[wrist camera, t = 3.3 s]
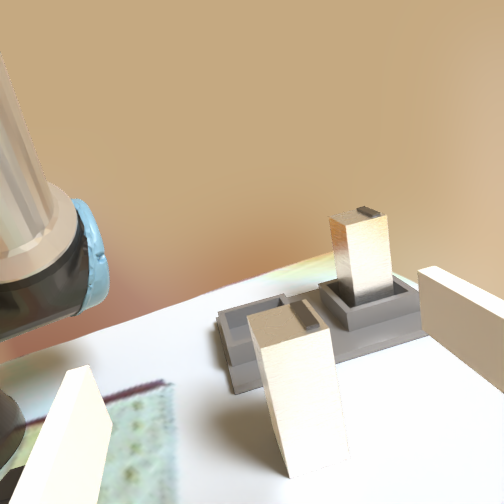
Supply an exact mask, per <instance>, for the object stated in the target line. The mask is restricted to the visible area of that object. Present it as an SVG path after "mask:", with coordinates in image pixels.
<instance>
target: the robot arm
mask: <svg viewBox="0 0 504 504" xmlns="http://www.w3.org/2000/svg"><path fill="white" fill-rule="evenodd" d="M417 272H418V285H419V297H420V310H421V323H422V330H423V331H424V332H426V333H427V334H428V335H430V336H431V337H432V338H433V339H435V340H436V341H437V342H439V343H440V344H441V345H442V346H444V347H445V348H446V349H447V350H449V351H450V352H451V353H453V354H454V355H455V356H456V357H458V358H459V359H460V360H462V361H463V362H464V363H465V364H467V365H468V366H469V367H470V368H472V369H473V370H474V371H476V372H477V373H478V374H479V375H481V376H482V377H483V378H485V379H486V380H487V381H488V382H490V383H491V384H492V385H493V386H495V387H496V388H497V389H499V390H500V391H501V392H502V393H504V300H502V299H500V298H498V297H496V296H494V295H492V294H490V293H488V292H486V291H484V290H482V289H480V288H478V287H476V286H474V285H472V284H470V283H468V282H466V281H464V280H462V279H460V278H458V277H456V276H454V275H452V274H450V273H448V272H446V271H444V270H442V269H440V268H438V267H436V266H432V267H428V268H425V269H421V270H418V271H417ZM109 285H110V277H109V268H108V263H107V259H106V257H105V255H104V246H103V241H102V238H101V235H100V232H99V230H98V226H97V223H96V221H95V219H94V216H93V215H92V212H91V210H90V209H89V207H88V206H87V204H86V203H85V202H84V201H82V200H80V199H70V198H69V197H68V195H67V194H66V193H65V192H64V191H62V190H61V189H60V188H59V187H57V186H55V185H54V184H52V183H50V182H47V181H46V178H45V175H44V172H43V170H42V167H41V164H40V161H39V159H38V156H37V153H36V150H35V148H34V145H33V142H32V139H31V136H30V133H29V131H28V128H27V125H26V122H25V119H24V117H23V114H22V111H21V108H20V106H19V103H18V100H17V97H16V94H15V91H14V89H13V86H12V83H11V80H10V78H9V75H8V72H7V69H6V66H5V63H4V61H3V58H2V55H1V52H0V342H3V341H5V340H8V339H10V338H13V337H16V336H18V335H21V334H24V333H26V332H29V331H31V330H34V329H37V328H39V327H42V326H45V325H47V324H50V323H52V322H55V321H58V320H60V319H63V318H66V317H68V316H71V317H72V316H76V315H79V314H80V313H81V312H83V311H84V310H86V309H88V308H91V307H93V306H95V305H97V304H99V303H101V302H102V301H103V300H104V299H105V298H106V296H107V294H108V292H109V287H110V286H109ZM112 425H113V424H112V421H111V419H110V416H109V414H108V411H107V409H106V406H105V404H104V401H103V399H102V397H101V394H100V392H99V389H98V387H97V384H96V382H95V379H94V377H93V374H92V372H91V369H90V367H89V365H85V366H82V367H78V368H75V369H71V370H68V371H67V372H66V374H65V377H64V379H63V381H62V384H61V386H60V388H59V390H58V393H57V395H56V397H55V399H54V402H53V404H52V406H51V409H50V411H49V413H48V415H47V418H46V420H45V422H44V424H43V427H42V429H41V431H40V434H39V436H38V438H37V440H36V443H35V445H34V447H33V449H32V452H31V454H30V456H29V459H28V461H27V463H26V465H24V466H21V467H18V468H14V469H11V470H10V471H9V472H8V473H7V474H6V475H5V476H4V478H3V479H2V480H1V481H0V504H97V499H98V494H99V490H100V485H101V480H102V475H103V470H104V465H105V460H106V455H107V450H108V445H109V440H110V435H111V430H112ZM25 428H26V422H25V418H24V416H23V414H22V412H21V410H20V408H19V406H18V404H17V403H16V402H15V400H14V399H13V398H11V397H10V396H8V395H6V394H5V393H4V392H3V391H2V390H1V389H0V468H1V467H2V466H3V465H4V464H5V463H6V462H7V461H8V460H9V458H10V457H11V456H12V454H13V453H14V452H15V450H16V449H17V447H18V446H19V444H20V442H21V440H22V438H23V436H24V432H25Z"/></svg>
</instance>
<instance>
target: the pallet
mask: <svg viewBox="0 0 504 504" xmlns="http://www.w3.org/2000/svg"><path fill="white" fill-rule="evenodd" d="M392 277H393V288H394V296H391V297H388V298H384V299H381V300H377V301H374V302H370V303H367V304H363V305H360V306H357V307H353V308H349V307H348V306H347V305H346V304H345V303H344V302H343V301H342V300H341V299H340V293H339V286H338V279H334V280H330V281H327V282H323V283H320V284H318V286H319V289H316V290H313V291H309V292H306V293H302V294H298V295H295V296H291V297H288V298H287V297H286V296H285V295H284V294H280V295H277V296H273V297H270V298H266V299H262V300H259V301H255V302H252V303H248V304H245V305H241V306H237V307H234V308H230V309H227V310H223V311H220V312H218V315H219V317H217V318H216V320H217V324H218V328H219V332H220V336H221V340H222V344H223V348H224V352H225V356H226V360H227V364H228V368H229V372H230V376H231V380H232V384H233V388H234V391H235V395H237V394H240V393H243V392H246V391H250V390H253V389H256V388H259V387H263V384H262V379H261V375H260V371H259V367H258V362H257V358H256V354H255V350H254V345H253V341H252V337H251V333H250V329H249V324H248V320H247V316H248V315H252V314H255V313H259V312H262V311H266V310H269V309H273V308H276V307H280V306H283V305H287V304H289V303H293V302H296V301H300V300H304V299H306V300H307V301H308V302H309V304H310V305H311V306H312V307H313V309H314V310H315V311H316V312H317V313H318V315H319V316H320V317H321V318H322V320H323V321H324V322H325V323H326V325H327V326H328V327H329V329H330V335H331V341H332V348H333V354H334V360H335V364H337V363H340V362H344V361H347V360H350V359H353V358H357V357H360V356H363V355H366V354H370V353H373V352H376V351H379V350H383V349H386V348H389V347H392V346H396V345H399V344H402V343H405V342H409V341H412V340H415V339H418V338H422V337H425V336H428V334H427V333H426V332H424V331H423V330H422V323H421V310H420V297H419V292H418V291H417V290H415V289H414V288H412V287H411V286H409V285H408V284H406V283H404V282H403V281H401V280H400V279H398V278H397V277H395V276H394V275H392Z"/></svg>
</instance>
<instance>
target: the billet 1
mask: <svg viewBox="0 0 504 504" xmlns="http://www.w3.org/2000/svg"><path fill="white" fill-rule="evenodd" d="M247 320H248V324H249V329H250V333H251V337H252V341H253V345H254V350H255V354H256V358H257V362H258V367H259V371H260V375H261V379H262V384H263V388H264V392H265V396H266V401H267V405H268V409H269V413H270V418H271V422H272V426H273V430H274V434H275V437H276V440H277V442H278V445H279V448H280V451H281V454H282V457H283V460H284V463H285V465H286V468H287V471H288V474H289V477H290V479H291V478H294V477H297V476H300V475H303V474H306V473H309V472H312V471H315V470H318V469H321V468H323V467H326V466H329V465H332V464H335V463H338V462H341V461H344V460H347V459H350V455H349V449H348V443H347V436H346V430H345V424H344V417H343V411H342V405H341V398H340V392H339V386H338V379H337V373H336V367H335V360H334V354H333V348H332V341H331V335H330V329H329V327H328V326H327V325H326V323H325V322H324V321H323V320H322V318H321V317H320V316H319V315H318V313H317V312H316V311H315V310H314V309H313V307H312V306H311V305H310V304H309V302H308V301H307V300H306V299H304V300H300V301H296V302H293V303H289V304H287V305H283V306H280V307H276V308H273V309H269V310H266V311H262V312H259V313H255V314H252V315H248V316H247Z"/></svg>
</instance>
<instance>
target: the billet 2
mask: <svg viewBox="0 0 504 504" xmlns="http://www.w3.org/2000/svg"><path fill="white" fill-rule="evenodd" d="M329 223H330V230H331V237H332V244H333V251H334V258H335V265H336V272H337V279H338V286H339V293H340V299H341V300H342V301H343V302H344V303H345V304H346V305H347V306H348V307H349V308H353V307H357V306H360V305H363V304H367V303H370V302H374V301H377V300H381V299H384V298H388V297H391V296H394V288H393V277H392V266H391V255H390V245H389V234H388V223H387V215H385V214H382V213H380V212H378V211H375V210H373V209H370V208H368V207H365V206H363V207H359V208H357V209H356V210H352V211H348V212H344V213H341V214H336V215H333V216H329Z"/></svg>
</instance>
